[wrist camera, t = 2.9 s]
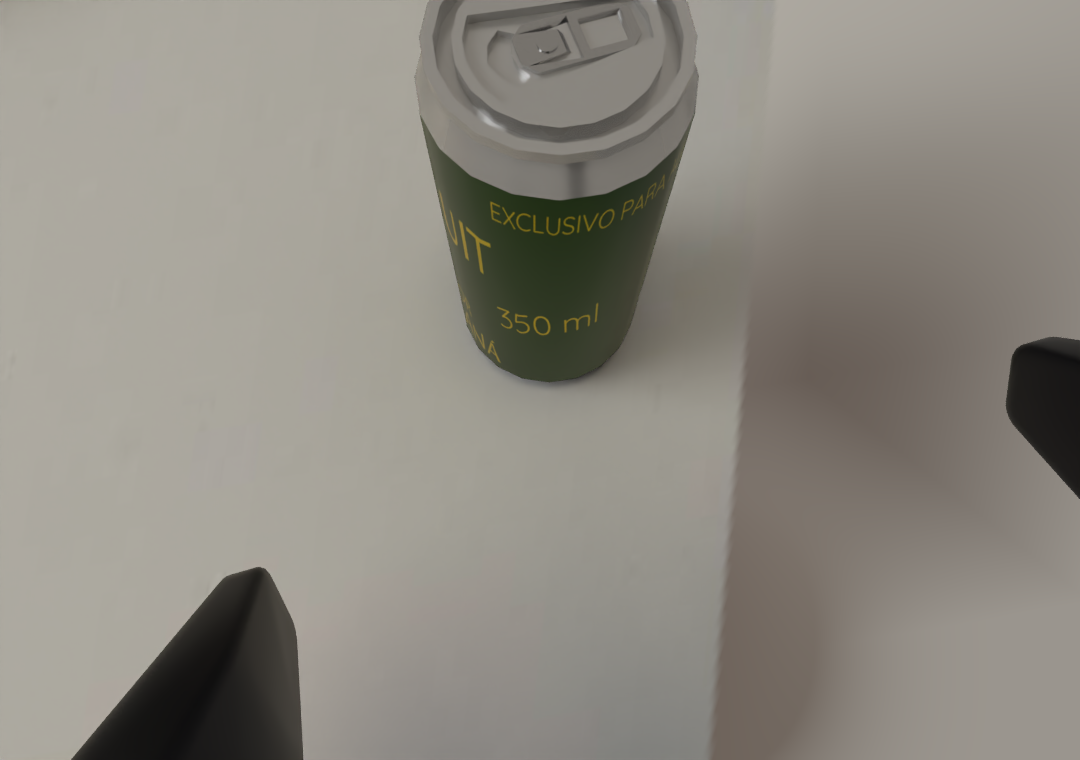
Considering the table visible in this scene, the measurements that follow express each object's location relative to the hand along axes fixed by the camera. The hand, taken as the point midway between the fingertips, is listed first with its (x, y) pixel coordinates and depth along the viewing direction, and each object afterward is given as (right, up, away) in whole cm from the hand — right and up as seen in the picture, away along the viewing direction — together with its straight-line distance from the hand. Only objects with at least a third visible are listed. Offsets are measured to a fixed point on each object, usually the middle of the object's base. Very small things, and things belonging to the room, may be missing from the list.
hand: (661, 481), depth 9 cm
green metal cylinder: (-1, +3, +16) cm, 17 cm away
